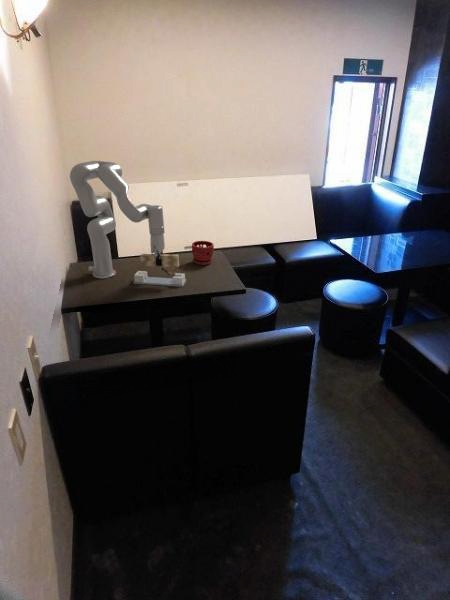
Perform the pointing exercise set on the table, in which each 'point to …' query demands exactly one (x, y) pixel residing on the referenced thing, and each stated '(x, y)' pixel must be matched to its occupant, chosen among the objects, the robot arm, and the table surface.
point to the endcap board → (159, 279)
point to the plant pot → (202, 252)
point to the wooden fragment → (172, 270)
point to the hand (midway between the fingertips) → (159, 264)
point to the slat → (167, 260)
